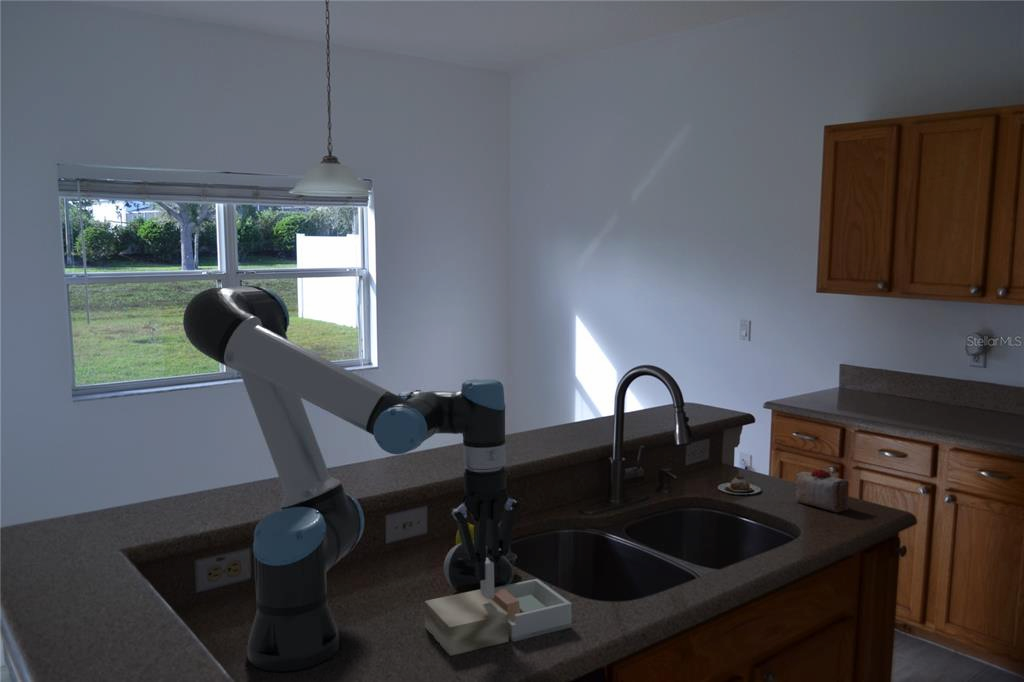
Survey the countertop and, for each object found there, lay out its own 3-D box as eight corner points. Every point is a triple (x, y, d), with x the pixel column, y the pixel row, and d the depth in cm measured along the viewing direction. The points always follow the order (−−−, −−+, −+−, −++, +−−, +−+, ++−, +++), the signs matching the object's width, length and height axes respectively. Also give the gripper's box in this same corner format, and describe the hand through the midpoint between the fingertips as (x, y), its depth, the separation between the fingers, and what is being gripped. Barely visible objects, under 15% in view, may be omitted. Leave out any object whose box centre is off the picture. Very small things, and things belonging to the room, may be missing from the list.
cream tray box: (450, 655, 133) (449, 627, 133) (425, 627, 144) (424, 601, 144) (508, 641, 138) (508, 613, 138) (480, 615, 149) (479, 589, 149)
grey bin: (512, 641, 138) (512, 617, 138) (481, 613, 150) (481, 590, 149) (571, 627, 143) (571, 603, 143) (537, 600, 155) (537, 578, 155)
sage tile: (545, 606, 145) (546, 620, 145) (531, 594, 150) (531, 607, 150) (523, 611, 143) (524, 625, 143) (509, 599, 148) (509, 612, 148)
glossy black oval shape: (444, 532, 160) (501, 540, 151) (476, 547, 167) (532, 557, 157) (428, 582, 156) (485, 594, 147) (461, 596, 163) (518, 608, 153)
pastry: (762, 498, 223) (762, 482, 222) (718, 496, 225) (718, 480, 225) (759, 487, 234) (759, 472, 234) (717, 485, 237) (717, 470, 236)
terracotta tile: (506, 604, 141) (519, 600, 142) (492, 592, 146) (504, 588, 148) (508, 628, 142) (520, 624, 143) (493, 615, 147) (505, 611, 148)
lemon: (452, 560, 177) (452, 526, 176) (460, 552, 182) (459, 518, 181) (476, 562, 176) (476, 527, 175) (483, 553, 181) (482, 519, 180)
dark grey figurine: (484, 575, 168) (483, 520, 167) (498, 566, 173) (497, 512, 172) (509, 580, 166) (508, 524, 164) (522, 570, 171) (521, 516, 170)
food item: (790, 502, 218) (791, 467, 217) (807, 497, 222) (808, 462, 221) (834, 514, 206) (835, 477, 206) (852, 509, 211) (853, 473, 210)
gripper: (459, 476, 134) (462, 611, 136) (527, 466, 140) (529, 596, 142) (442, 467, 141) (446, 595, 143) (508, 458, 146) (510, 581, 149)
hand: (487, 595), depth 142 cm, fingers closed
